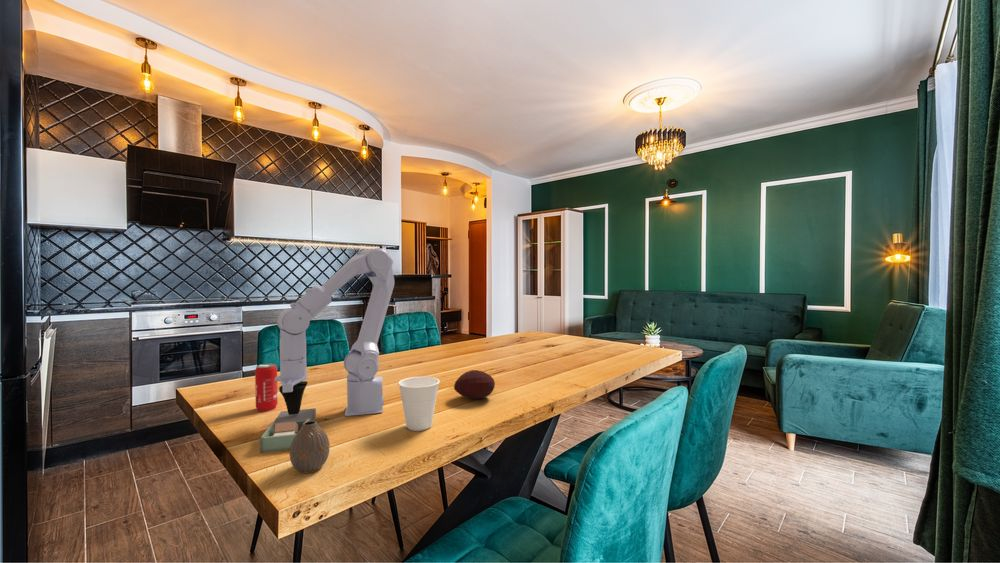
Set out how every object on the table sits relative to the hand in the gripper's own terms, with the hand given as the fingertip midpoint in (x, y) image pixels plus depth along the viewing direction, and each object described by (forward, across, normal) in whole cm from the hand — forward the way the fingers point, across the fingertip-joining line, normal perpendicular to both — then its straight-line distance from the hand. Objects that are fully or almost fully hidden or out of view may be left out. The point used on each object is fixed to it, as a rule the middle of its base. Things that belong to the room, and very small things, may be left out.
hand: (294, 413), depth 98 cm
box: (+3, +10, 0) cm, 10 cm away
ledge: (+3, 0, 0) cm, 3 cm away
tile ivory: (+1, +12, 0) cm, 12 cm away
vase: (+3, +24, +7) cm, 26 cm away
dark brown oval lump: (+3, -8, +47) cm, 48 cm away
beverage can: (+3, -16, -10) cm, 19 cm away
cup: (+3, +10, +29) cm, 31 cm away
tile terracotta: (+2, +8, 0) cm, 8 cm away
